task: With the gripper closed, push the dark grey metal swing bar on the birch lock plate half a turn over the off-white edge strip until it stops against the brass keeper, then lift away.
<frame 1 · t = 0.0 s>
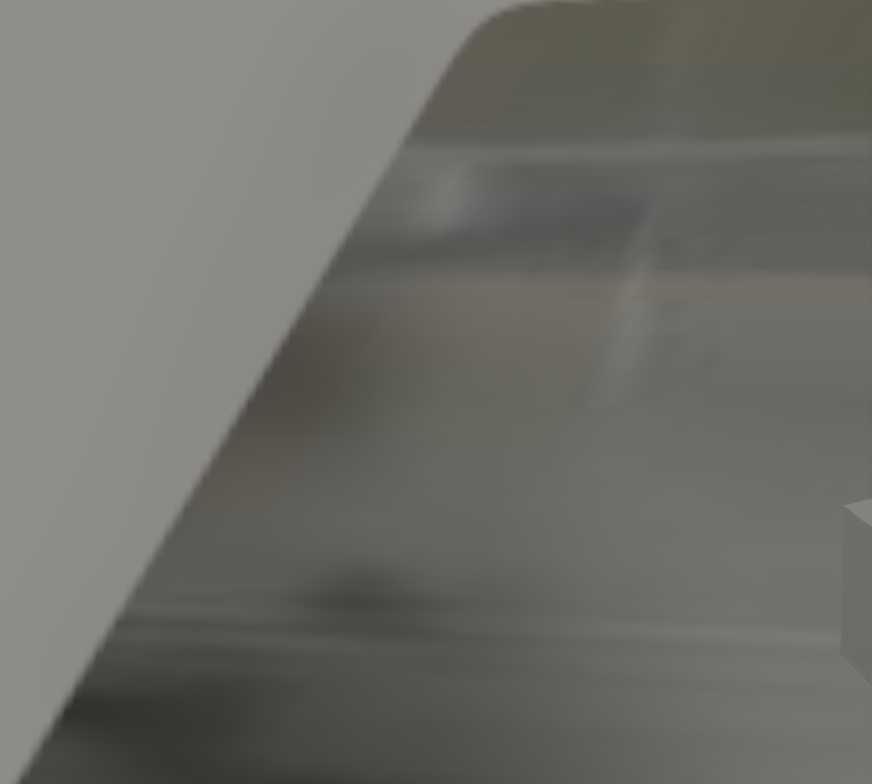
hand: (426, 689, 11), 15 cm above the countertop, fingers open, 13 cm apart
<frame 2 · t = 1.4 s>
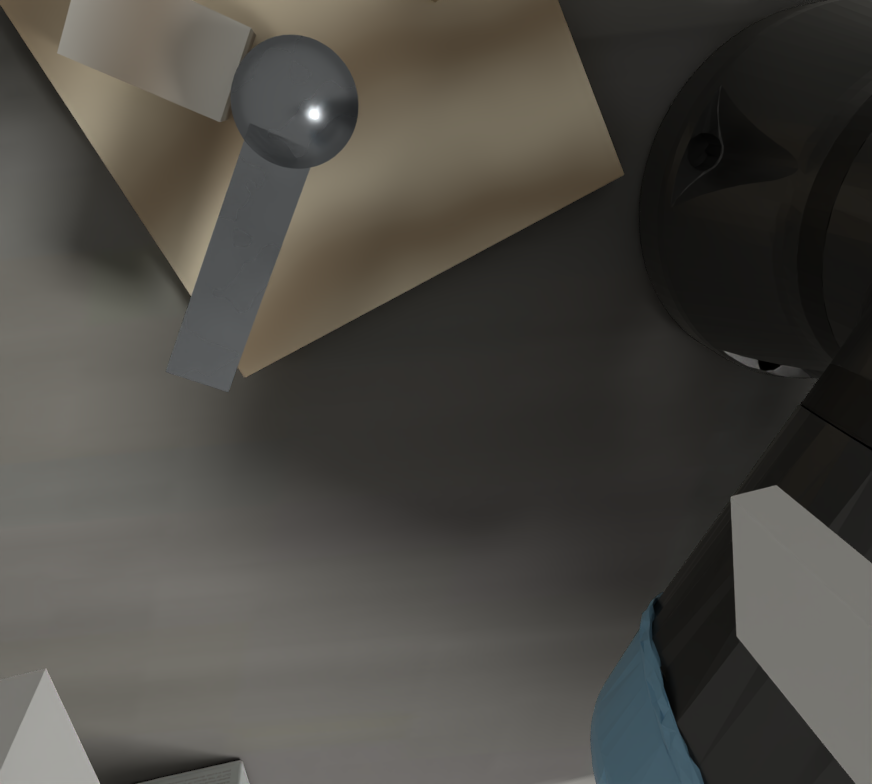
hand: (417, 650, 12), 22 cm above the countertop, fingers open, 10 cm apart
lock plate: (296, 101, 29), on the countertop
swing bar: (256, 215, 24), point 6 cm above the countertop, hinge at 0.0°
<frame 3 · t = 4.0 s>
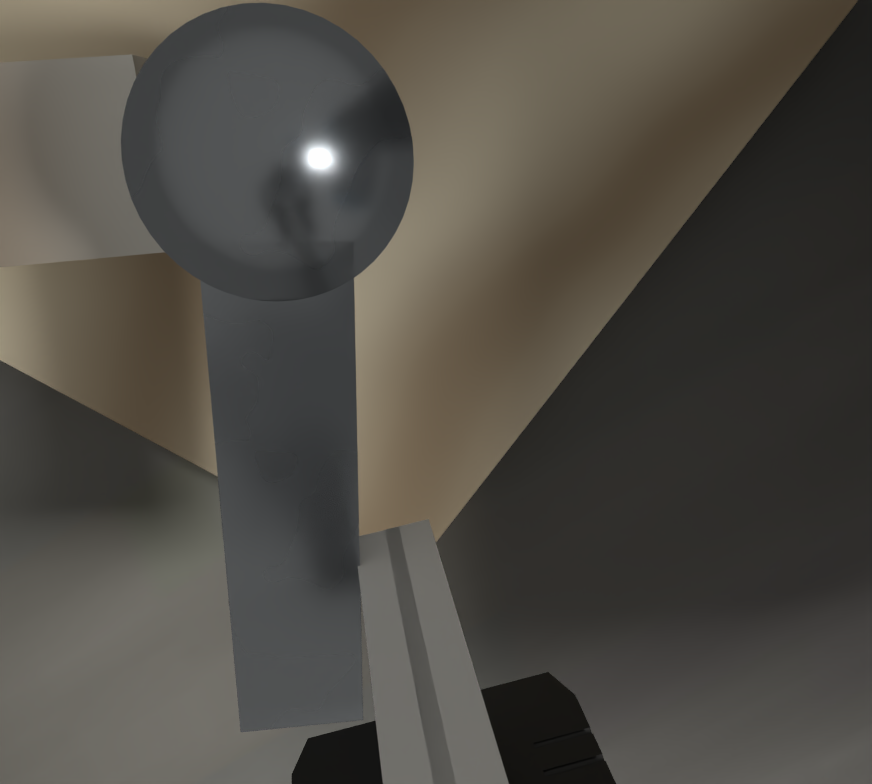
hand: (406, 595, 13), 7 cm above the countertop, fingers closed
lock plate: (286, 135, 17), on the countertop
swing bar: (288, 394, 12), point 6 cm above the countertop, hinge at 4.8°, touching gripper
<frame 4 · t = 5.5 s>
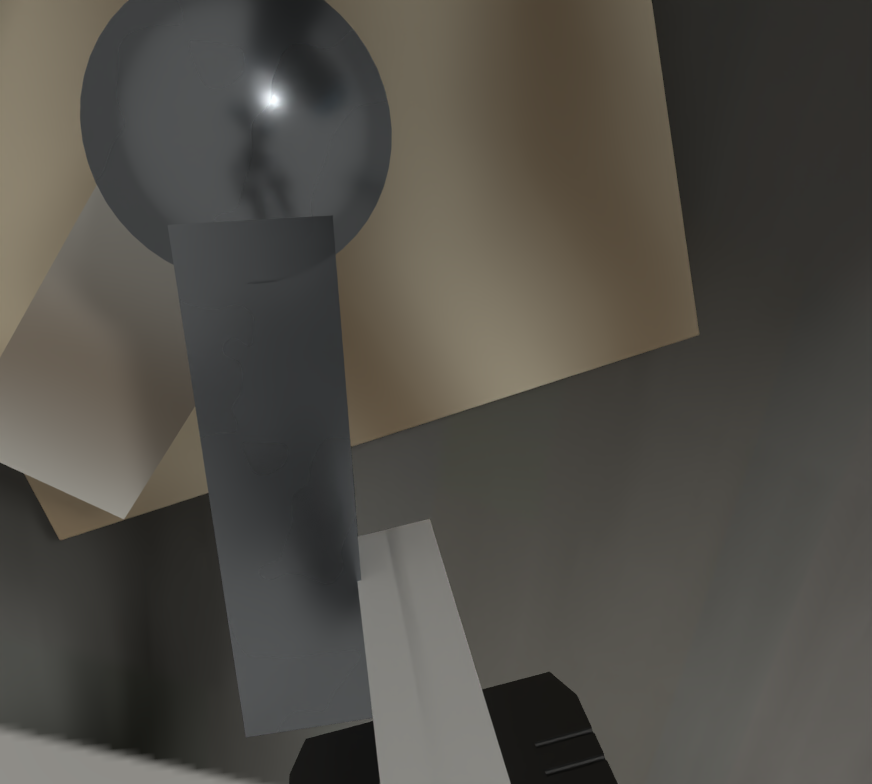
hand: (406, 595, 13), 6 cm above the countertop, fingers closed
lock plate: (262, 120, 16), on the countertop
swing bar: (275, 383, 12), point 6 cm above the countertop, hinge at 53.3°, touching gripper
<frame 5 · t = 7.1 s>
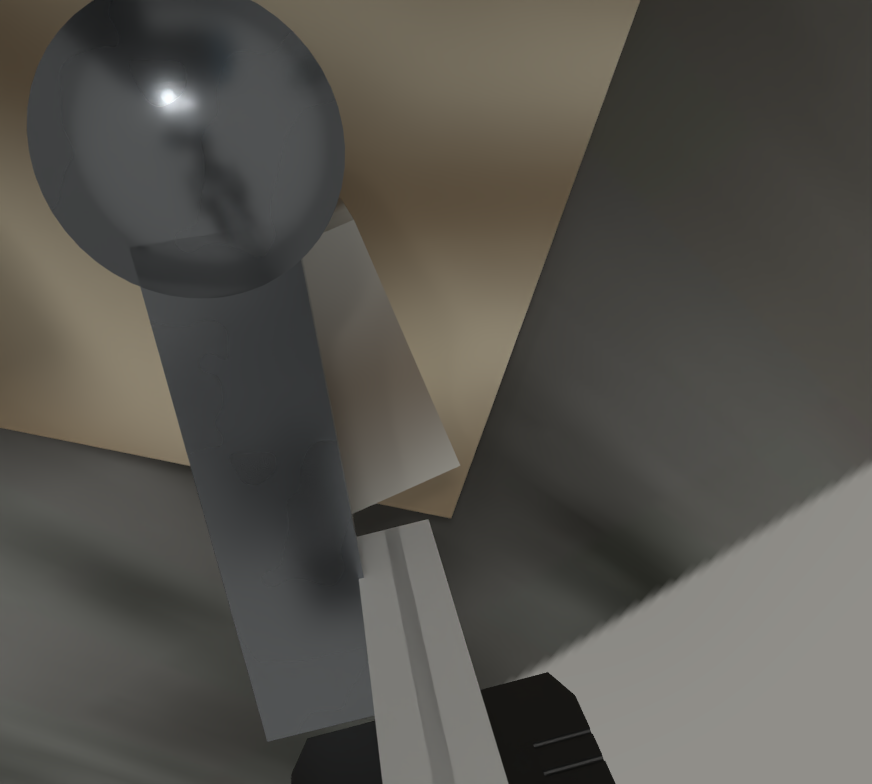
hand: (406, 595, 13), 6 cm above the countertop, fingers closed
lock plate: (228, 126, 16), on the countertop
swing bar: (259, 392, 12), point 6 cm above the countertop, hinge at 104.2°, touching gripper
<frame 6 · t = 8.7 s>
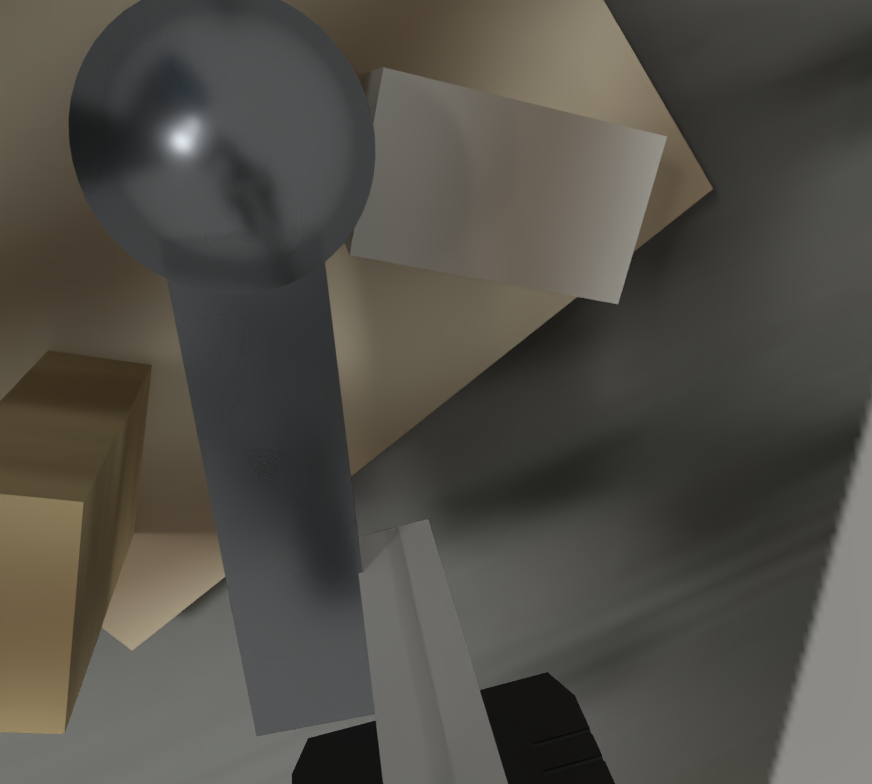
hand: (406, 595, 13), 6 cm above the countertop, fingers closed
lock plate: (251, 127, 16), on the countertop
swing bar: (272, 389, 12), point 6 cm above the countertop, hinge at 163.7°, touching gripper
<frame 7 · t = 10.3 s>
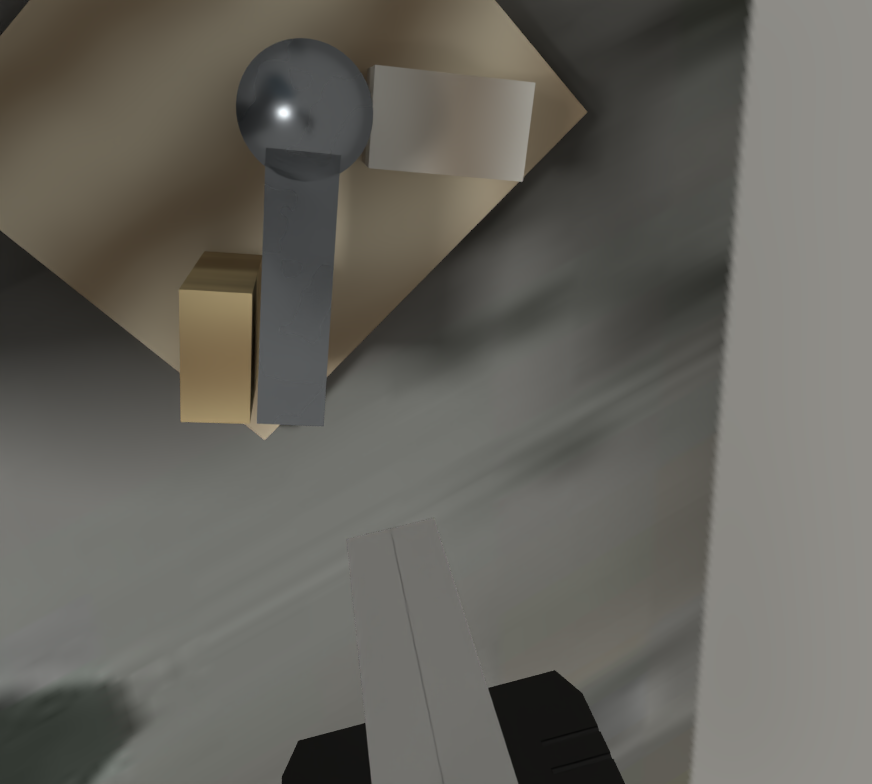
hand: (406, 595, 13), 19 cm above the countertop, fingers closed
lock plate: (305, 109, 28), on the countertop
swing bar: (299, 240, 23), point 6 cm above the countertop, hinge at 180.6°
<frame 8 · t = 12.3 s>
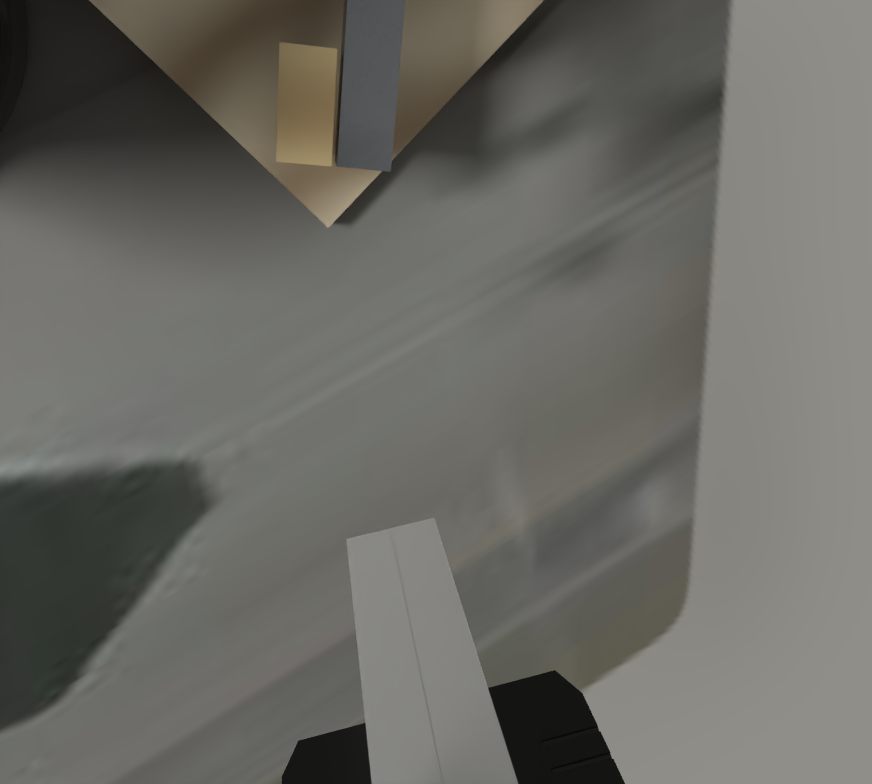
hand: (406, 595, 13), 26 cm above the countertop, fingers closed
swing bar: (372, 12, 28), point 6 cm above the countertop, hinge at 180.6°
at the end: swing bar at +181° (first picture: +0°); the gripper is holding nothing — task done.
